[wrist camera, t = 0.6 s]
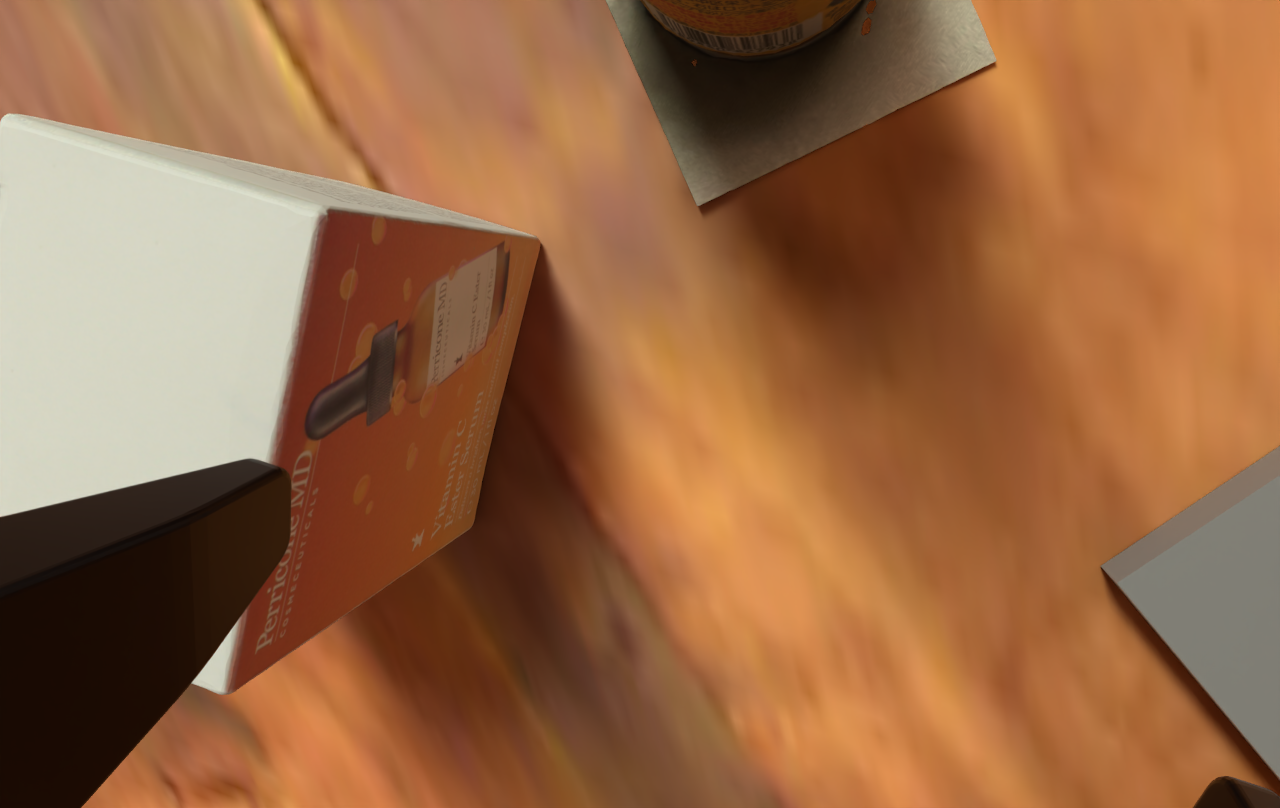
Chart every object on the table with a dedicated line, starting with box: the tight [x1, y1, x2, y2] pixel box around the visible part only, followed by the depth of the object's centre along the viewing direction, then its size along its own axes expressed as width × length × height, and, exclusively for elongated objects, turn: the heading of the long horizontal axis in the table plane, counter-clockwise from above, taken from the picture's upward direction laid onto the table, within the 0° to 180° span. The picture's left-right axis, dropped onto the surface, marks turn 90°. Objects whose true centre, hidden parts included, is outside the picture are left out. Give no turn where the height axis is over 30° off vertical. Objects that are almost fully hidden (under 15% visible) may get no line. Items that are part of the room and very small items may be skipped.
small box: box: [0, 114, 540, 695], centre depth 19 cm, size 8×6×10 cm
